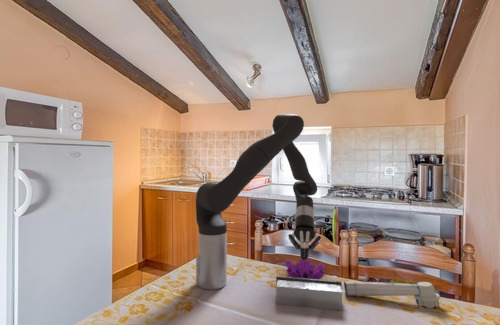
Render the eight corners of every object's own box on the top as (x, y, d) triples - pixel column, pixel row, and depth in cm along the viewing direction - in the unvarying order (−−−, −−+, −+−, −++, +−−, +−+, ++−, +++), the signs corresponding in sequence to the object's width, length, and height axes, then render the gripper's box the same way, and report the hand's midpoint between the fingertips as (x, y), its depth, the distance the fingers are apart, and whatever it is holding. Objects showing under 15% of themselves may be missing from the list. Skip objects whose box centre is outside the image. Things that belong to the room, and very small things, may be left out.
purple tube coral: (308, 282, 102) (324, 262, 101) (309, 302, 88) (329, 280, 87) (283, 262, 104) (299, 242, 103) (280, 278, 89) (299, 256, 88)
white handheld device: (343, 278, 90) (433, 276, 83) (346, 299, 89) (436, 299, 83) (344, 285, 84) (440, 284, 78) (347, 307, 84) (443, 308, 77)
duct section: (274, 303, 81) (274, 283, 81) (276, 293, 86) (276, 275, 86) (343, 310, 77) (343, 290, 77) (341, 300, 83) (341, 281, 83)
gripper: (288, 213, 114) (285, 253, 102) (321, 214, 111) (323, 255, 99) (288, 223, 119) (286, 262, 107) (320, 225, 116) (322, 265, 105)
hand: (304, 259), depth 103 cm, fingers closed
